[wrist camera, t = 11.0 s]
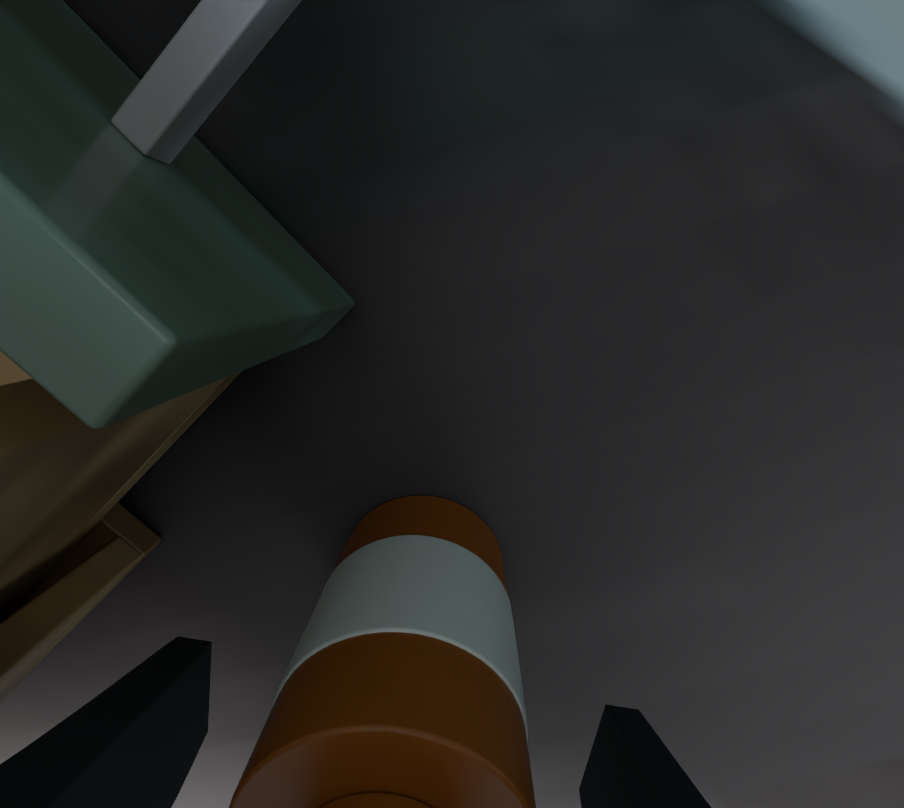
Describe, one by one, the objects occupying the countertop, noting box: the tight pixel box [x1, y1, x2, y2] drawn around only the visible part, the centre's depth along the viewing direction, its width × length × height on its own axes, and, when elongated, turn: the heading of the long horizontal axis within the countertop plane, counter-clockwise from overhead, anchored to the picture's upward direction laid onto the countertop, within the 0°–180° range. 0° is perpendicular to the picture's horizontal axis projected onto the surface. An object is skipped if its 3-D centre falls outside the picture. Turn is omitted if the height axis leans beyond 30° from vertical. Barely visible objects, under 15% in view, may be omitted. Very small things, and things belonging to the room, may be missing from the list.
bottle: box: [229, 495, 536, 808], centre depth 9 cm, size 4×4×8 cm
